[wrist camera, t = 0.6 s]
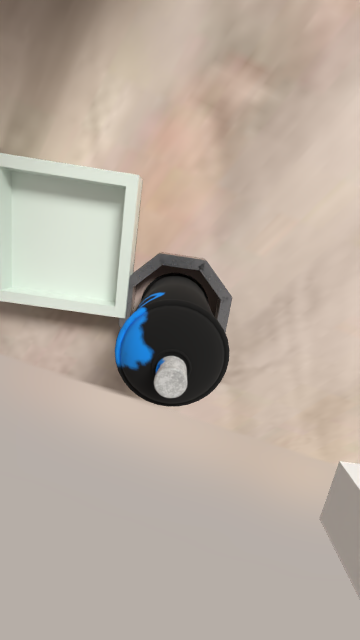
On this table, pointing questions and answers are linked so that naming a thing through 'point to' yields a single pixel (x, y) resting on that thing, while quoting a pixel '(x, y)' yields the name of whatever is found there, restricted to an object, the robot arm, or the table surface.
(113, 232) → the tray
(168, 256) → the collar
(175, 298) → the aerosol can
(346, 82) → the table surface
